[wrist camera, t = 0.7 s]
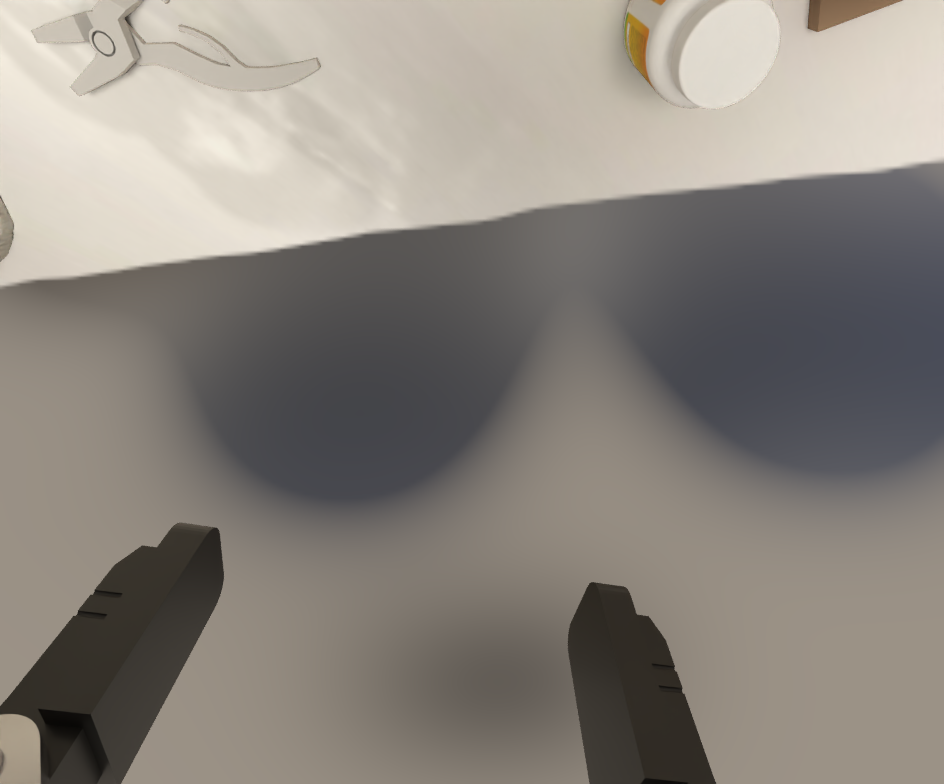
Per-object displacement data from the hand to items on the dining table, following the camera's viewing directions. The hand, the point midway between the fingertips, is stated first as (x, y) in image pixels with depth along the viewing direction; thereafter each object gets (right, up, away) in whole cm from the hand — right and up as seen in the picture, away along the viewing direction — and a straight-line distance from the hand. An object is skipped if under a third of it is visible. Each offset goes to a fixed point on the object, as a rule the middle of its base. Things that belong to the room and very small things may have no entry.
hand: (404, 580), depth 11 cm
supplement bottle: (+13, +25, +17) cm, 33 cm away
